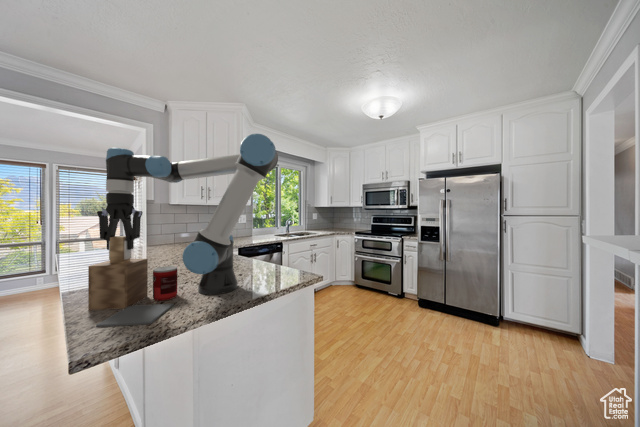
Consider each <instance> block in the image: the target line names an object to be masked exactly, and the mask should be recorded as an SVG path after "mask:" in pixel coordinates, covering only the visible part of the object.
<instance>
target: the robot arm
mask: <svg viewBox="0 0 640 427" xmlns="http://www.w3.org/2000/svg"><path fill="white" fill-rule="evenodd" d="M278 162H279V156H278V153H277V150H276V146H275V144H274V142H273V141H272V140H271V139H270V138H269V137H268V136H266V135H264V134H262V133H252V134H249V135H247V136H246V137H244V138H243V140H242V141H241V142H240V146H239V154H231V155H225V156H215V157H208V158H206V157H205V158H197V159H191V160H190V159H189V160H183V161H182V160H181V161H174V162H170V160H169V158H167V157H166V156H162V155H157V154H156V155H140V154H139V155H135V154H134V151H133V150H131V149H127V148H119V147H109V148H108V149H107V150H106V157H105V169H106V179H105V180H106V181H105V189H106V190H105V192H107V193H106V194H105V203H106V207H105V209H103V210H98V211H96V213H97V216H98V220H99V221H98V224H99V227H98V228H99V239H101V240H105V241H106V250H107V251H108V261H110V237H116V233H117V229H118V225H119V222H120V221H121V223H122V226H123V230H124V234H125V235H124V236H126V239H125V240H126V241H124V260H125V259H132V250H133V249H134V246H135V244H134V242H135V241H134V240H137V239H139V238H140V237H141V218H142V216H143V211H142V210H137V209H135V206H134V202H135V201H134V200H135V196H134V194H133V193H134V191H135V190H134V188H135V187H134V186H135V185H134V184H135V183H134V181H135V177H136V178H138V177H140V178H142V177H143V178H146V177H147V178H153V179H157V180H160V181H163V182H168V183H171V184H172V183H173V184H175V183H176V184H178V183H180V182H182V181H185V180H193V179H203V178H209V177H216V176H226V175H233V174H234V175H233V177H232V178H231V180H230V182H229V184H228V186H227V188H226V190H225V192H224V193H223V195H222V197H221V199H220V201H219V203H218V204H217V207H216V209H215V211H214V212H213V214H212V216H211V218H210V220H209V222H208V223H207V226H206V227H205V228H202V229H200V230H199V231H198V232H197V235H196V236H195V238H194V240H193V242H190V243H189V244H188V245H187V246H186V247H185V248H184V250H183V253H182V263H183V264H184V266H185V268H186V269H187V270H188V271H190V273H193V274H196V275H201V276H200V280H199V284H198V293H199V294H202V295H220V294H227V293H230V292H232V291H235V290H236V289H237V288H238V279H237V276H236V273H235V271H234V237H233V235H232V233H233V231H234V229H235V227H236V225H237V224H238V222H239V219H240V217H241V216H242V214H243V212H244V210H245V207H246V206H247V204H248V203H249V201H250V199H251V197H252V194H253V193H254V191H255V189H256V187H257V186H258V183H259V181H262V180H265V179H266V177H267V175H268V173H270V172H272V171H273V170H274V169H275V168H276V167H277V165H278Z"/></svg>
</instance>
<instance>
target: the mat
mask: <svg viewBox="0 0 640 427" xmlns="http://www.w3.org/2000/svg"><path fill="white" fill-rule="evenodd" d="M174 306H175V304H174V303H161V304H137V305H135V304H134V305H132V306H128V307H126V308H125V309H121V310H120V311H118V312H116V313H115V314H113V315H111V316H109V317H107V318H106V319H104V320H103V321H101V322H99V323H97V324H96V326H95V327H96V328H102V327H103V328H105V327H120V326H138V325H139V326H140V325H152V324H153V323H154V322H155V321H157V320H158V319H159V318H160V317H162V315H164V314H165V313H166V312H167V311H169V310H170V309H171V308H172V307H174Z"/></svg>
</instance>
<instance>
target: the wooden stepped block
mask: <svg viewBox="0 0 640 427" xmlns="http://www.w3.org/2000/svg"><path fill="white" fill-rule="evenodd" d="M125 239H126V235H120V236H119V235H117V236H116V235H115V237H110V260H107V261H103V262H99V263H95V264H91V265H88V274H87V275H88V278H87V280H88V283H87V284H88V289H87V290H88V291H87V292H88V294H87V296H88V305H87V306H88V310H87V311H100V310H101V311H102V310H103V311H104V310H120V309H121V310H123V309H125V308H126V307H128V306H134V305H135V304H137V303H139V302H141V301H143V300H144V299H147V298H148V294H149V293H148V287H149V286H148V284H149V283H148V278H149V277H148V275H149V274H148V273H149V272H148V263H149V262H148V258H130V259H125V260H124V241H126V240H125Z"/></svg>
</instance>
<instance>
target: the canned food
mask: <svg viewBox="0 0 640 427" xmlns="http://www.w3.org/2000/svg"><path fill="white" fill-rule="evenodd" d="M177 295H178V267H177V266H172V265H171V266H167V265H165V266H159V267H155V268H153V269H152V299H153V300H154V301H156V302H157V301H158V302H159V301H160V302H162V301H169V300H172V299H175V298H176V297H177Z"/></svg>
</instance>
